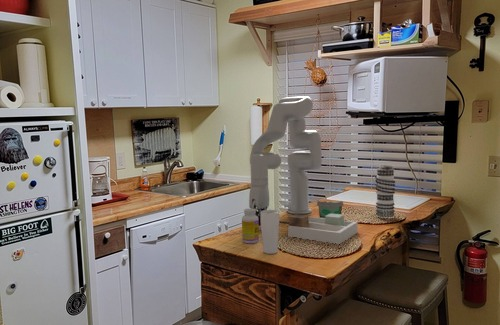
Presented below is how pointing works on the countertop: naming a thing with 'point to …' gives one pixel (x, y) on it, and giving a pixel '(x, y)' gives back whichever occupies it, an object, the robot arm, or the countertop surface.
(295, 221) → the brown block with stick
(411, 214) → the countertop surface
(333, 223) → the sage block
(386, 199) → the decorative candle
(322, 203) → the food container
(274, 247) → the drinking glass
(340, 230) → the white tray
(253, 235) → the supplement bottle
